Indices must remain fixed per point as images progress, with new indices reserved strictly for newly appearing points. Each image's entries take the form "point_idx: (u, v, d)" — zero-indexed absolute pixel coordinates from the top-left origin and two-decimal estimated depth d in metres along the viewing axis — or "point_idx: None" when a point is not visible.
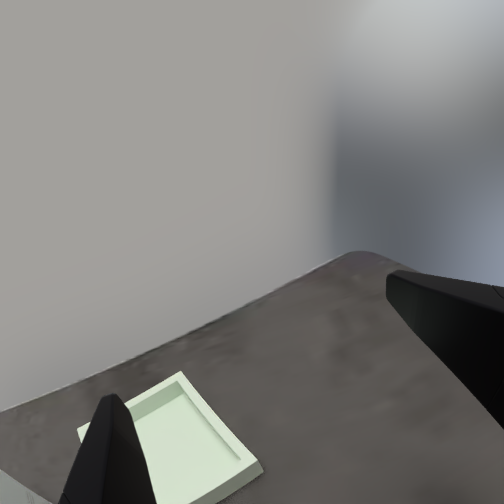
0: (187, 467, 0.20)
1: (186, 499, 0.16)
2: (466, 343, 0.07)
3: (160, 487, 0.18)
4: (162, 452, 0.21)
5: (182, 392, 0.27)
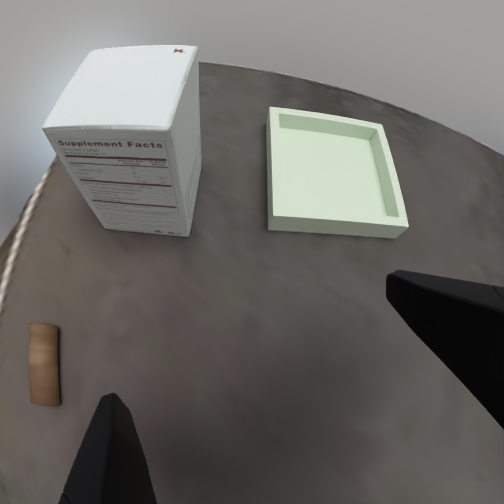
0: (348, 193, 0.27)
1: (348, 216, 0.24)
2: (466, 343, 0.07)
3: (318, 195, 0.27)
4: (333, 169, 0.28)
5: (369, 139, 0.30)
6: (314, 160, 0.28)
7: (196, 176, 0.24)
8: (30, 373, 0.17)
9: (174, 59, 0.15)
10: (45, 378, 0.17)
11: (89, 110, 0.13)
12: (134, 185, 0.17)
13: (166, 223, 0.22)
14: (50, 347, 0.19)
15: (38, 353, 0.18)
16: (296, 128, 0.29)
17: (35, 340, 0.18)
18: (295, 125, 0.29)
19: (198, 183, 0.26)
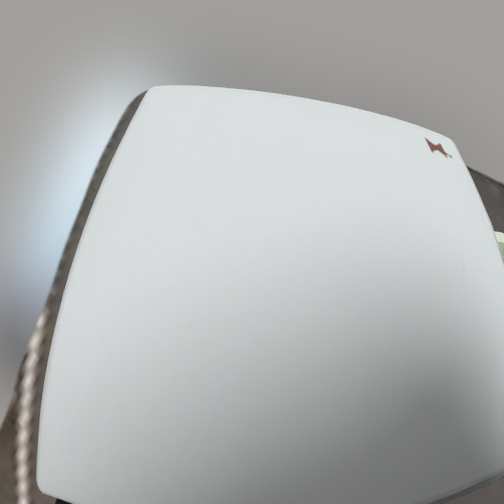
0: None
1: None
2: None
3: None
4: None
5: None
6: None
7: None
8: None
9: (452, 179, 0.05)
10: None
11: (279, 454, 0.03)
12: None
13: None
14: None
15: None
16: None
17: None
18: None
19: None
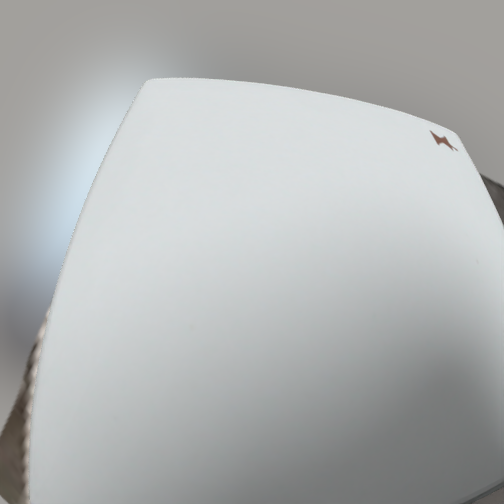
0: None
1: None
2: None
3: None
4: None
5: None
6: None
7: None
8: None
9: (460, 172, 0.05)
10: None
11: (295, 466, 0.02)
12: None
13: None
14: None
15: None
16: None
17: None
18: None
19: None
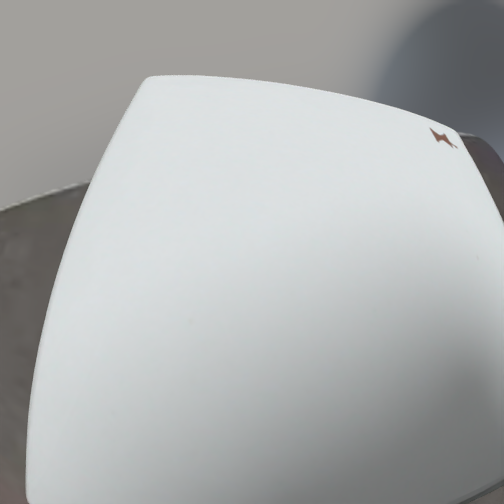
0: None
1: None
2: None
3: None
4: None
5: None
6: None
7: None
8: None
9: (459, 169, 0.05)
10: None
11: (296, 462, 0.02)
12: None
13: None
14: None
15: None
16: None
17: None
18: None
19: None
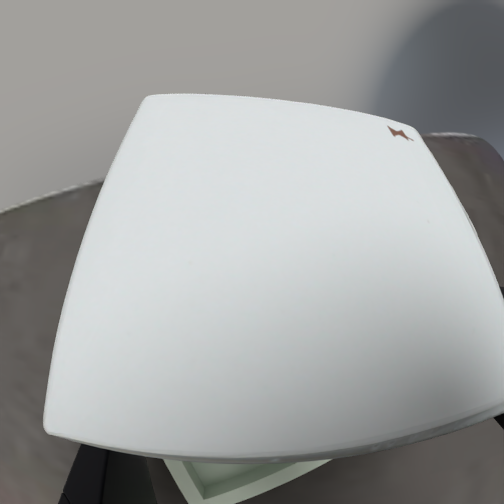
0: None
1: (301, 468, 0.13)
2: None
3: None
4: None
5: None
6: None
7: None
8: None
9: (413, 156, 0.06)
10: None
11: (276, 368, 0.03)
12: None
13: None
14: None
15: None
16: None
17: None
18: None
19: None
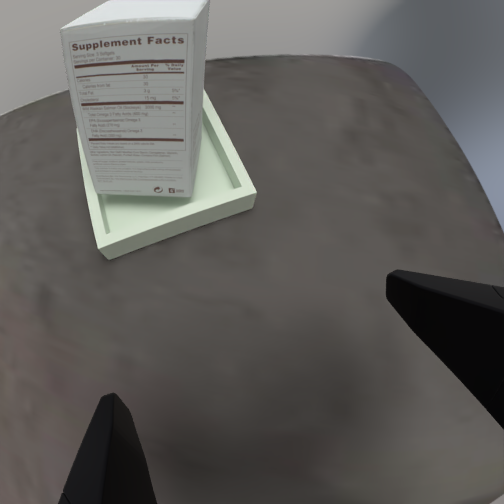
0: None
1: (177, 213, 0.21)
2: (466, 343, 0.07)
3: (148, 199, 0.23)
4: None
5: None
6: None
7: (199, 134, 0.22)
8: None
9: None
10: None
11: (111, 15, 0.11)
12: (142, 105, 0.15)
13: (169, 172, 0.19)
14: None
15: None
16: None
17: None
18: None
19: None
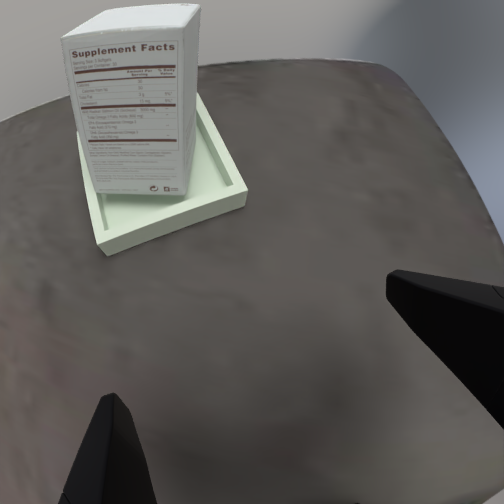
0: None
1: (172, 210, 0.22)
2: (466, 343, 0.07)
3: (145, 198, 0.24)
4: None
5: None
6: None
7: (193, 136, 0.23)
8: None
9: (182, 6, 0.15)
10: None
11: (108, 24, 0.12)
12: (137, 107, 0.16)
13: (163, 171, 0.20)
14: None
15: None
16: None
17: None
18: None
19: None
